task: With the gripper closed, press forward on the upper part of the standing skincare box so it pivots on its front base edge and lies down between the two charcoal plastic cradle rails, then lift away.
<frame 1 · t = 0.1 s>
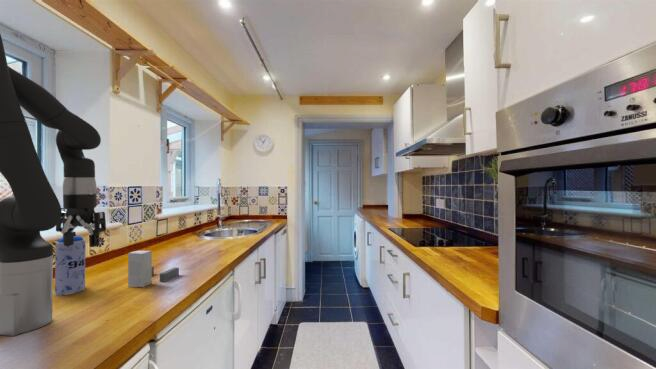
hand: (81, 246, 83), 17 cm above the counter, tool pointing down, fingers open, 8 cm apart
charcoal cradle: (156, 277, 106), on the counter
skincare box: (139, 285, 98), on the counter
aerosol can: (70, 291, 93), on the counter
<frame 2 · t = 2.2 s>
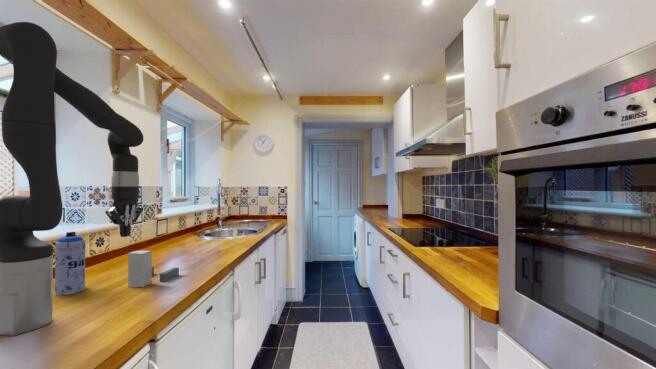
hand: (125, 236, 92), 19 cm above the counter, tool pointing down, fingers closed
nothing on the counter moved.
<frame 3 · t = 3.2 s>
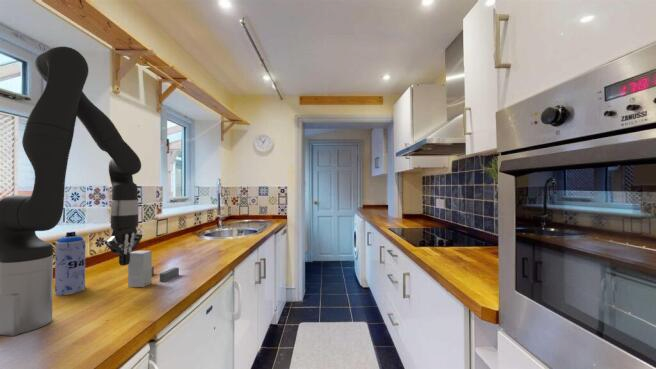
hand: (124, 264, 92), 9 cm above the counter, tool pointing down, fingers closed
nothing on the counter moved.
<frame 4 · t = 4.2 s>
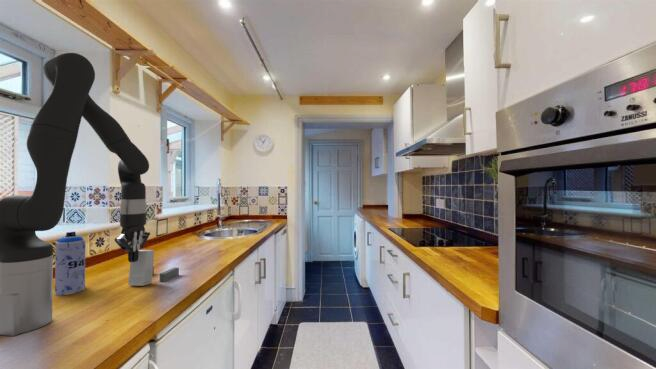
hand: (133, 261, 96), 9 cm above the counter, tool pointing down, fingers closed
skincare box: (139, 284, 98), on the counter, touching gripper
everything else where it was.
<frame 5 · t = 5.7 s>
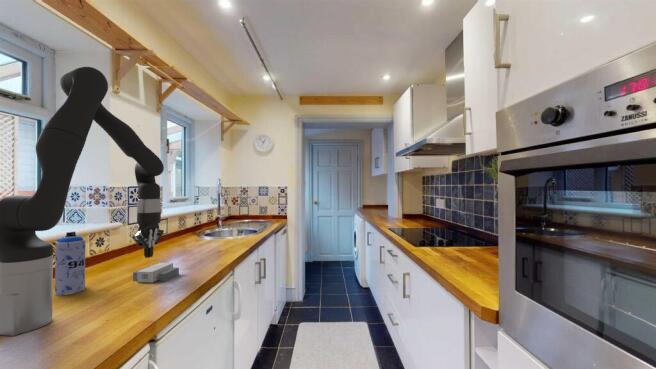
hand: (148, 257, 102), 9 cm above the counter, tool pointing down, fingers closed
skincare box: (143, 277, 100), point 2 cm above the counter
everything else where it was.
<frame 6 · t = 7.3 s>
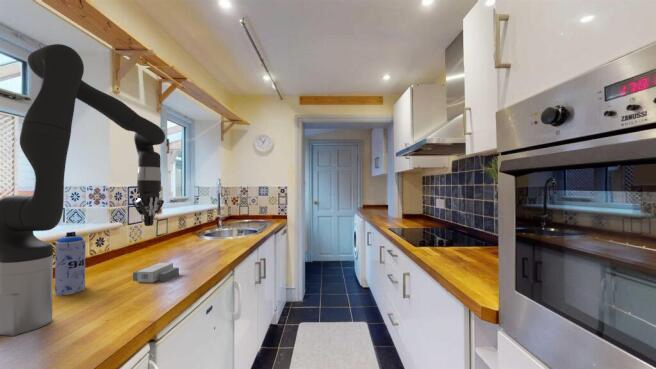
hand: (148, 225, 102), 21 cm above the counter, tool pointing down, fingers closed
nothing on the counter moved.
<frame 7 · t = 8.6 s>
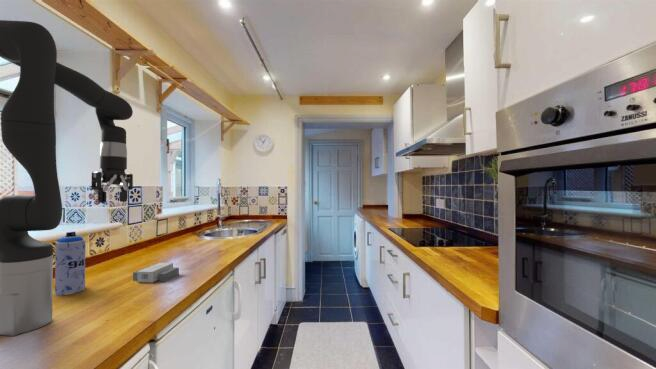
hand: (113, 202, 97), 30 cm above the counter, tool pointing down, fingers open, 7 cm apart
nothing on the counter moved.
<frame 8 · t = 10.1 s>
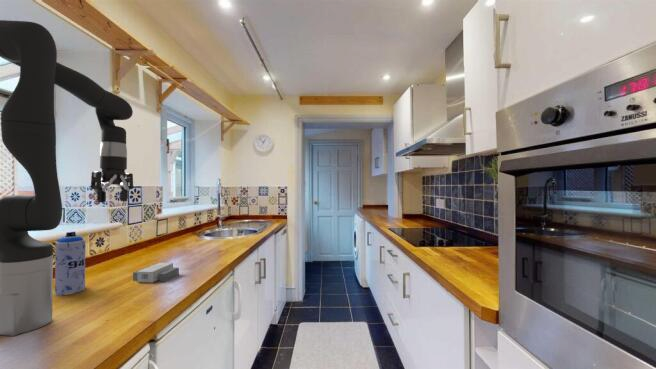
hand: (113, 201, 97), 30 cm above the counter, tool pointing down, fingers open, 8 cm apart
nothing on the counter moved.
at the end: skincare box tilted 90°; skincare box inside the target area on the charcoal cradle (4.6 cm from its centre), point 2.1 cm above the charcoal cradle's base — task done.
